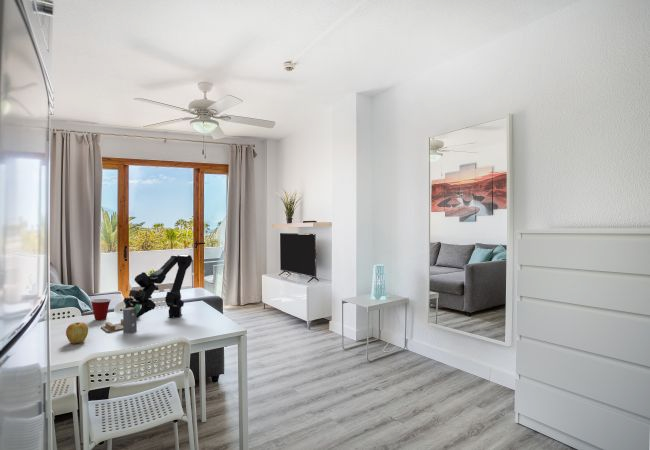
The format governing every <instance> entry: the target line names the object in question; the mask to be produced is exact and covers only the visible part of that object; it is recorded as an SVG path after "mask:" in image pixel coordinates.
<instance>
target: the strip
mask: <svg viewBox="0 0 650 450" xmlns="http://www.w3.org/2000/svg"><path fill="white" fill-rule="evenodd" d="M136 316H137V314H136V308H131V307H130V308H126V309H125V308H123V309H122V317H123V318H122V319H123V330H122V331H123V333H124V334H132V333H135V332H137V330H138V328H137V323H138V322H137V321H138V320H137V319H138V318H137V317H136Z"/></svg>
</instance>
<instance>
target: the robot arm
mask: <svg viewBox="0 0 650 450" xmlns="http://www.w3.org/2000/svg"><path fill="white" fill-rule="evenodd" d="M192 263H193V257H192V255H189V254H181V255H179V254H173V255H171V256H170V258H169V259H167V261H166V262H165V263H164V264H163V265H162V266H161V267H160V268H159V269H158V270H155V271H154V272H152V273H151V274H149V276H148V274H147V273H146V272H144V271H143V272H141V273H140V274H137V275H136V276H135V277H134V279H133V280H134V282H135V283H136V284H137V285H139V287H140V288H142V289H139V290H135V289H130V291H129V293H128V296H129V297H124V299H123V301H122V302H123V303H124V307H125V305H126V307H125V308H124V309H126V308H130V307H131V308H134V306H136V304H138V305H140V311H139V312H138V314H137V316H136V317H137V319H138V318H140V317H141V316H143V315H145V314H146V313H148V312H150V311H152V310H154V309H155V308H156V303H155V302H154V301H153V300H152V297H153V296H152V295H153V294H154V292H155V291H159V290H160V288H159V285H161V284H162V283H163V282H164V281H165V279H166V276H167V274H168V273H169V272H170V271H171V270H172V269H173V268H174V266H175V265H177V267H178V268H177V270H176V274H175V278H174V282H173V285H172V287H171V290H170V291H167V292H166V296H165V297H164V299H165V301H164V302H165V303H166V307H167V308H168V318H170V319H171V318H172V319H173V318H181V316H182V315H183V313H182V308H183V307H184V304H185V302H184V301H183V300H182V294H181V289H182V286H183V283H184V279H185V276H186V273H187V270H188V269H189V267H190V266H191V265H192ZM135 299H136V301H135Z"/></svg>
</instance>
